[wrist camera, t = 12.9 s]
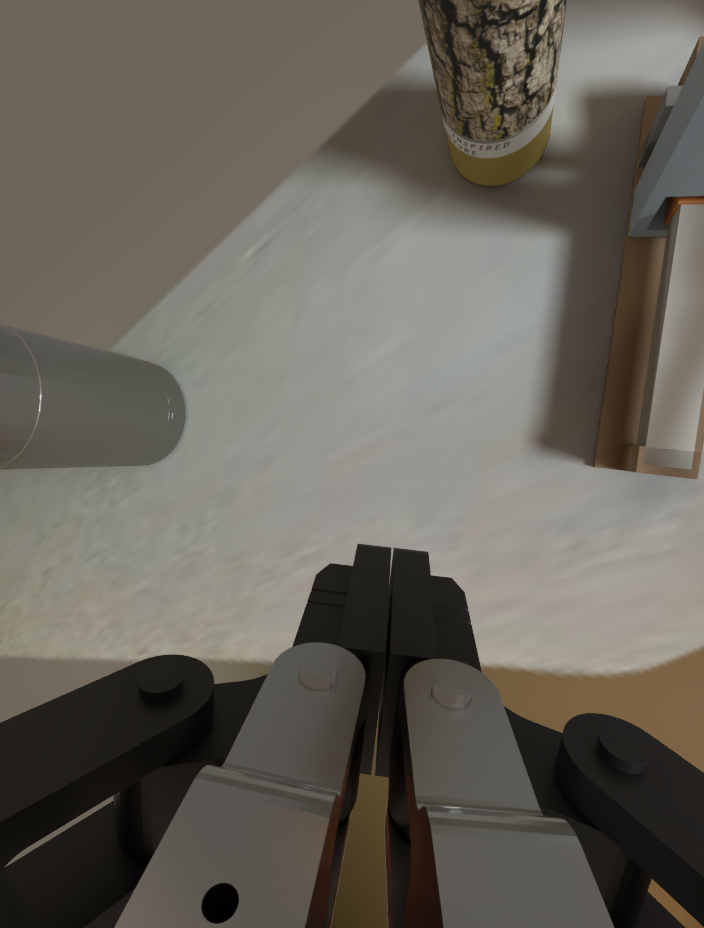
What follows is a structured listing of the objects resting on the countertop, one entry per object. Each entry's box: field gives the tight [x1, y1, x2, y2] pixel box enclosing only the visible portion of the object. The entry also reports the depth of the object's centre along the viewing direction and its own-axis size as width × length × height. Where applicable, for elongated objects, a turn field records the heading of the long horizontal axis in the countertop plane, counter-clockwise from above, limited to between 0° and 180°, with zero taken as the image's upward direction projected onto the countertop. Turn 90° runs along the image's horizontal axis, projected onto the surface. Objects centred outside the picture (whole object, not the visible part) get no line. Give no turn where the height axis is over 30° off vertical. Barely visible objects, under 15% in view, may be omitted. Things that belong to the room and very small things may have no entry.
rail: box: [594, 37, 704, 479], centre depth 30 cm, size 6×24×7 cm, turn 174°
